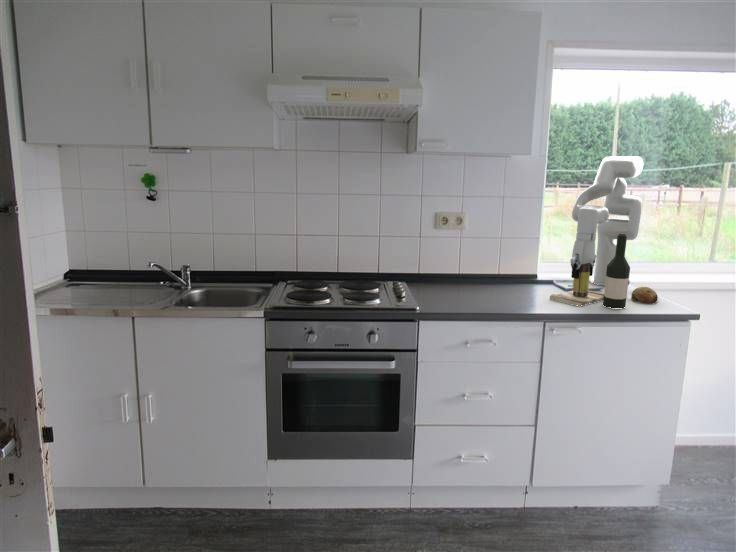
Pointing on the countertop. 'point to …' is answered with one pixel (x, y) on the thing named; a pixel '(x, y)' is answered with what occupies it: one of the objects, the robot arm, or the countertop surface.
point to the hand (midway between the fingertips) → (581, 276)
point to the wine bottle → (617, 276)
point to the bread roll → (644, 295)
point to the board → (578, 298)
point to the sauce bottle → (582, 281)
